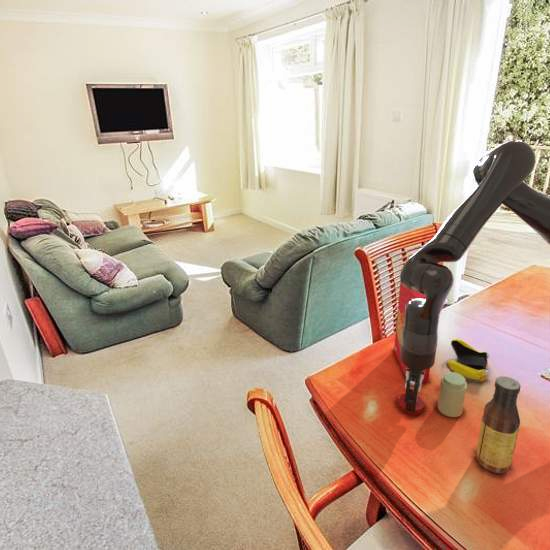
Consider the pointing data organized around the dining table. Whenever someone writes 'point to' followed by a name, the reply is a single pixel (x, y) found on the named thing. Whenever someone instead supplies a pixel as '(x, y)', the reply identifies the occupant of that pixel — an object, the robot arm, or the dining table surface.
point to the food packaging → (404, 298)
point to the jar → (452, 394)
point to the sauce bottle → (499, 427)
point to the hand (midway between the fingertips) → (412, 400)
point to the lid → (418, 406)
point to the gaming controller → (468, 361)
